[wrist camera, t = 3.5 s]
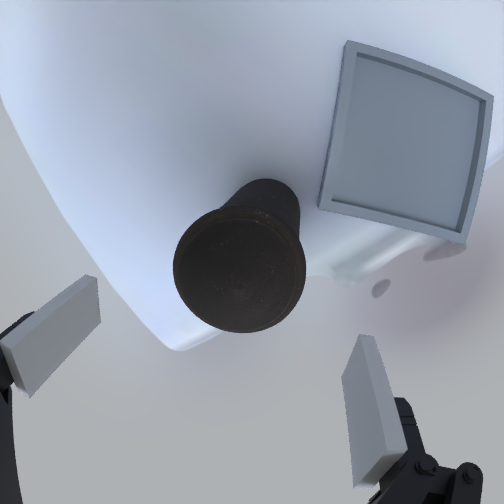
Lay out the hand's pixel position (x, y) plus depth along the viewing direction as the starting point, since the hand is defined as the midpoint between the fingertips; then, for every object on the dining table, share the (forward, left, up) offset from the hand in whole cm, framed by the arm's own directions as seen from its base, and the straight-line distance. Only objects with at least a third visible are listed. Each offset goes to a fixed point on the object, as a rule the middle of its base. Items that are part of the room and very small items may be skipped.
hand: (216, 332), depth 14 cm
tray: (+16, +12, -25) cm, 32 cm away
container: (0, 0, -25) cm, 25 cm away
